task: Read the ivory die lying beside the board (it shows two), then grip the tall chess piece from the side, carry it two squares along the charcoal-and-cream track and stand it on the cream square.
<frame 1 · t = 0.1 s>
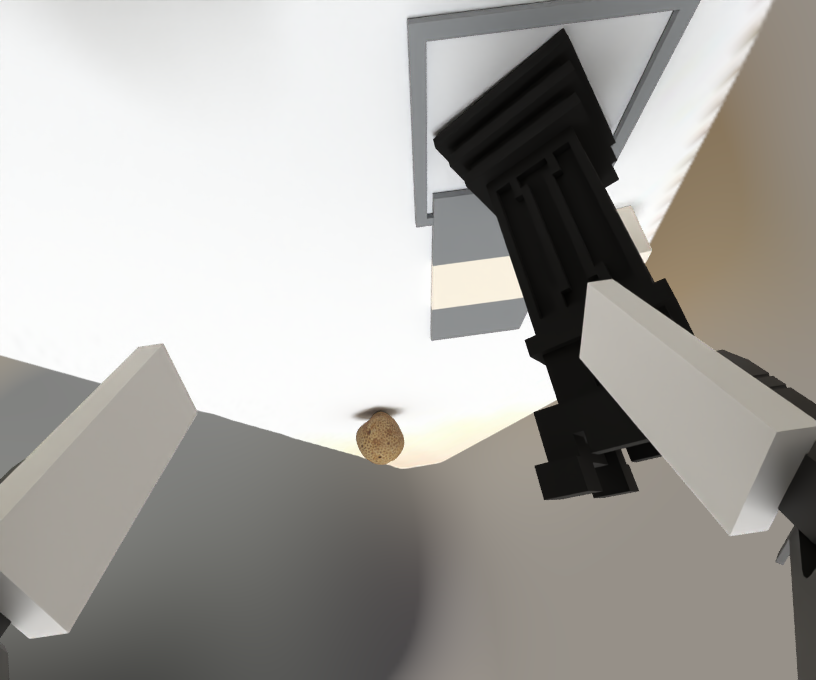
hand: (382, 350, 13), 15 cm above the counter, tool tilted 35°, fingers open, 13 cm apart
die: (595, 229, 34), on the counter
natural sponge: (377, 411, 79), on the counter
track: (487, 278, 39), on the counter
grey flat square frame: (523, 132, 24), on the counter
chess piece: (523, 134, 24), on the counter, touching track
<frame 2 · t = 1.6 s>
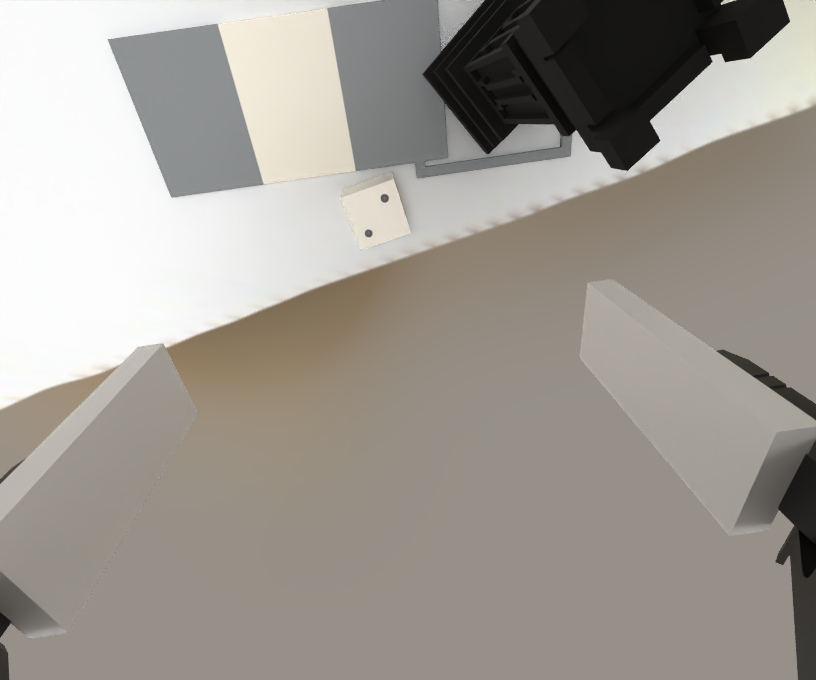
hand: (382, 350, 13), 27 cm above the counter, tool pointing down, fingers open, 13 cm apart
die: (376, 205, 36), on the counter
track: (293, 103, 32), on the counter
grey flat square frame: (491, 75, 32), on the counter
chess piece: (491, 75, 32), on the counter, touching track
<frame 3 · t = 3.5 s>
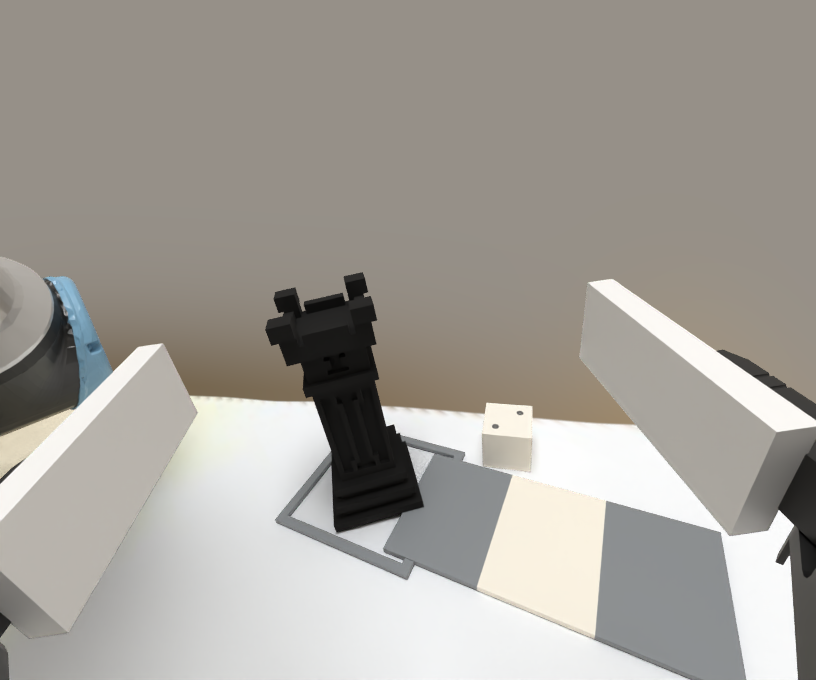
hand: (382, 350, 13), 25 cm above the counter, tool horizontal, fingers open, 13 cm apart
die: (507, 452, 41), on the counter
track: (545, 544, 32), on the counter
grey flat square frame: (375, 486, 39), on the counter
chess piece: (375, 486, 39), on the counter, touching track
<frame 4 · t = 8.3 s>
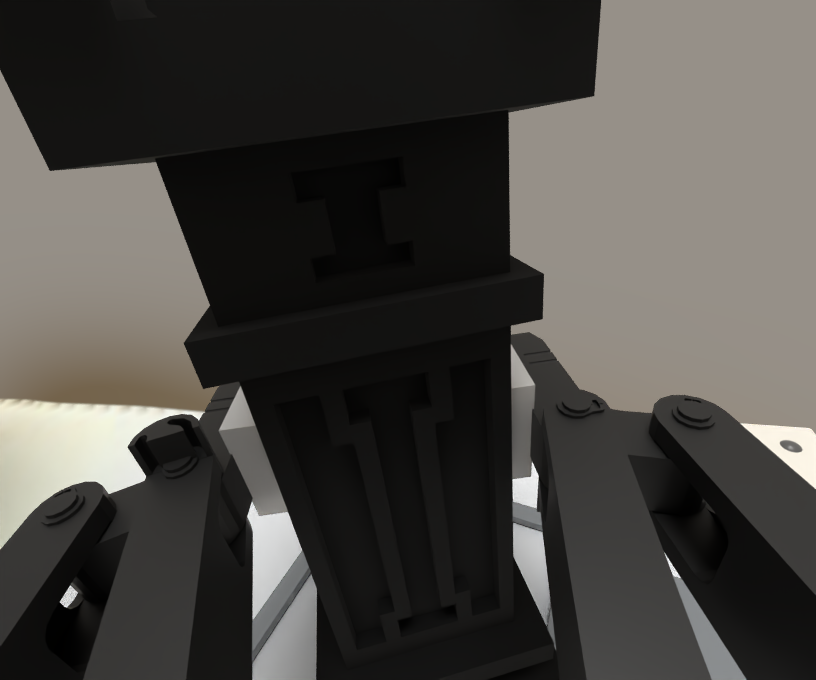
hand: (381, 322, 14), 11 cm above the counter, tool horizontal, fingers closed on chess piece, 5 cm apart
die: (736, 538, 17), on the counter
grey flat square frame: (429, 638, 15), on the counter
chess piece: (427, 635, 15), on the counter, touching gripper, track
when the fingers open (13 cm above the counter, at t = 12.0 s): chess piece drops 1 cm, point 1 cm above the counter.
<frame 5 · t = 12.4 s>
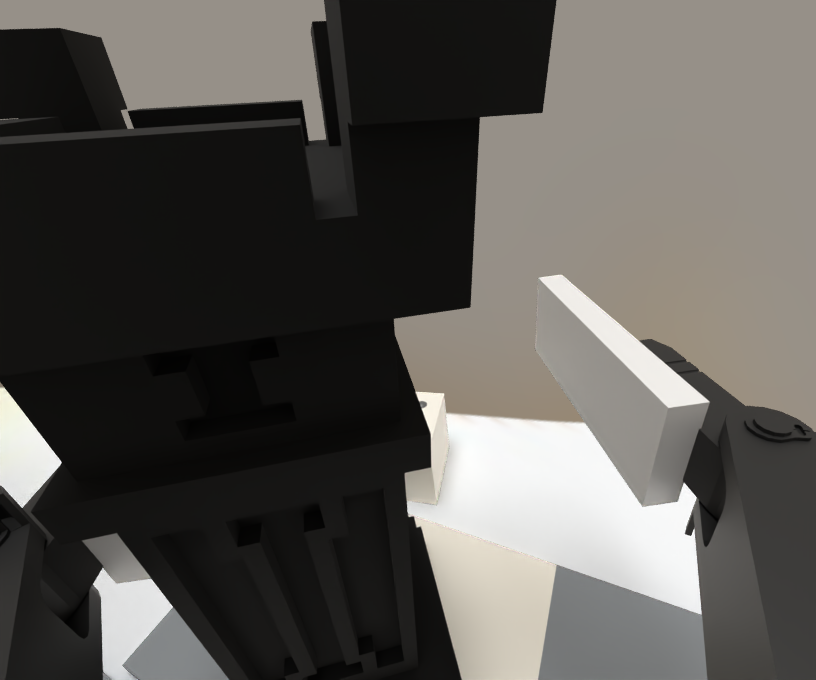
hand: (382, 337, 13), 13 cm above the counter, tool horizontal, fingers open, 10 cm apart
die: (408, 470, 25), on the counter
track: (432, 660, 16), on the counter
chess piece: (349, 653, 16), point 1 cm above the counter, touching gripper
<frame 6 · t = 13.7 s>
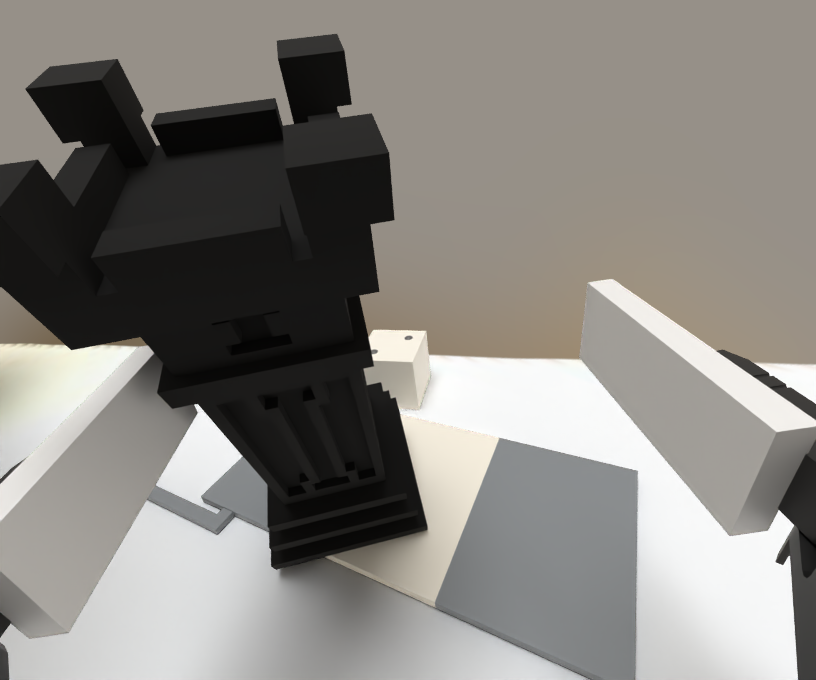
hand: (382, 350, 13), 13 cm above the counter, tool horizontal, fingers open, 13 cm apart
die: (399, 391, 33), on the counter
track: (410, 489, 24), on the counter
grey flat square frame: (227, 429, 31), on the counter
chess piece: (344, 477, 24), point 2 cm above the counter, touching track
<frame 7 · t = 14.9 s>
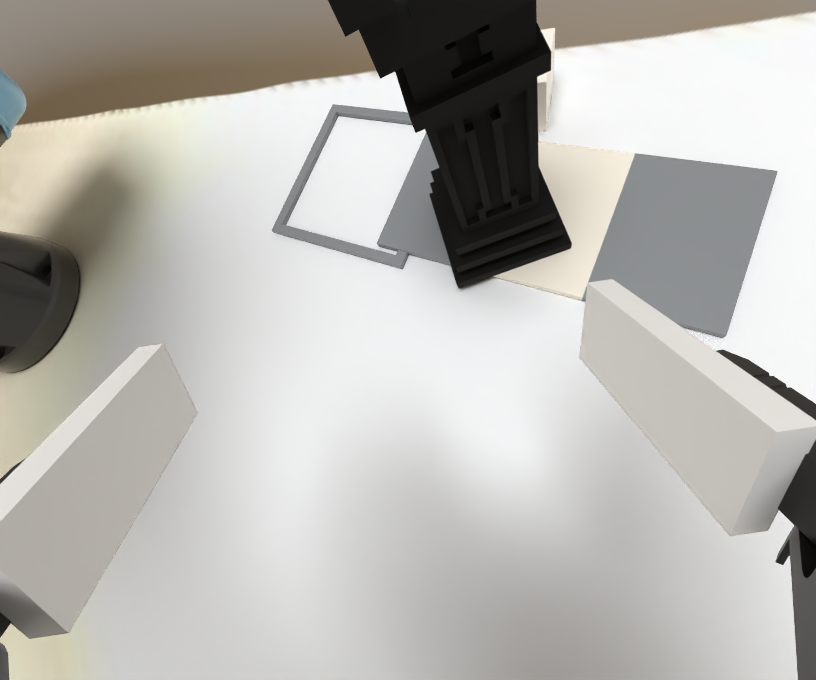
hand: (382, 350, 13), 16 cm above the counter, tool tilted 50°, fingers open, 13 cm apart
die: (520, 109, 32), on the counter
track: (549, 216, 29), on the counter
grey flat square frame: (365, 180, 35), on the counter
chess piece: (496, 223, 30), resting on track
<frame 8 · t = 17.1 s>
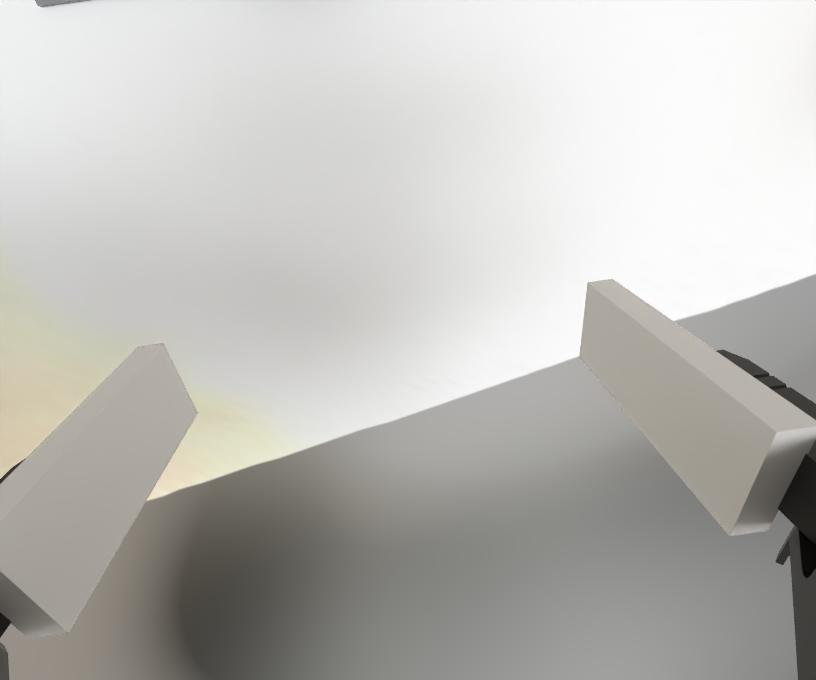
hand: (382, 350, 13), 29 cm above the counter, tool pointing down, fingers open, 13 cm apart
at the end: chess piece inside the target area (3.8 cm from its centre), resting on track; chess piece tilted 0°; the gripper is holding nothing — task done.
